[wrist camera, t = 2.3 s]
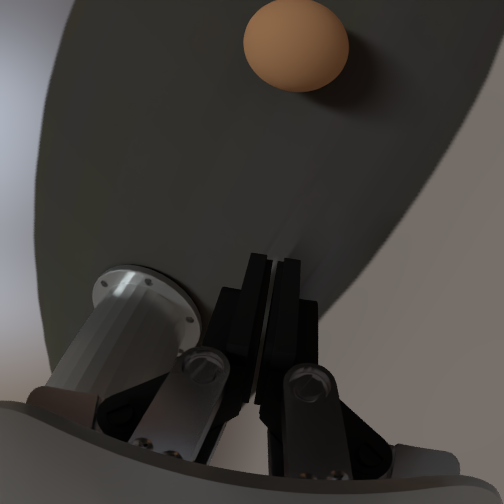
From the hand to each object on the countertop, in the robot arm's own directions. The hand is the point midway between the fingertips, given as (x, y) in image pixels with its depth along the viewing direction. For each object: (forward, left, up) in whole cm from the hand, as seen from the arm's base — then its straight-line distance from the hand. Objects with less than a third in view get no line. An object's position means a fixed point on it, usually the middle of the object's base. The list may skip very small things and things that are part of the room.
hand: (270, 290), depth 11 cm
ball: (+9, +3, -10) cm, 14 cm away
